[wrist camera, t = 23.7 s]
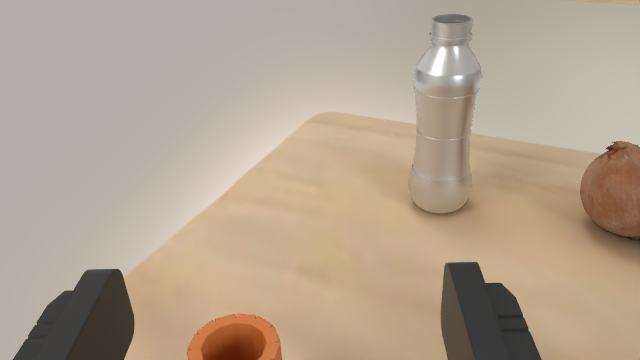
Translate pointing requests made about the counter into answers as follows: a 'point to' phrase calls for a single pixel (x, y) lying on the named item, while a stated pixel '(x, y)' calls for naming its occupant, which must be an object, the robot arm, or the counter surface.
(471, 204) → the counter surface
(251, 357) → the orange grooved tube
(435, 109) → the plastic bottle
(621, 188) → the onion
